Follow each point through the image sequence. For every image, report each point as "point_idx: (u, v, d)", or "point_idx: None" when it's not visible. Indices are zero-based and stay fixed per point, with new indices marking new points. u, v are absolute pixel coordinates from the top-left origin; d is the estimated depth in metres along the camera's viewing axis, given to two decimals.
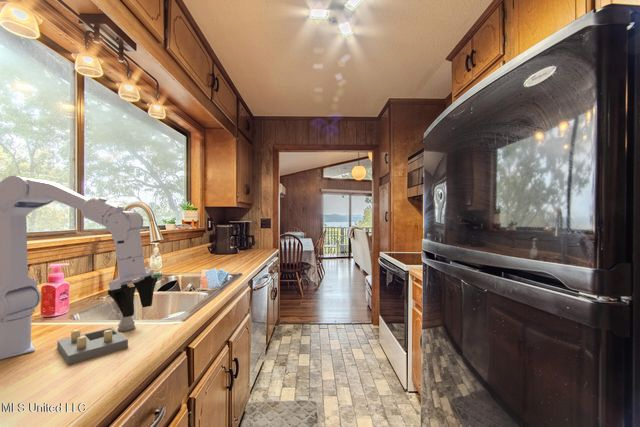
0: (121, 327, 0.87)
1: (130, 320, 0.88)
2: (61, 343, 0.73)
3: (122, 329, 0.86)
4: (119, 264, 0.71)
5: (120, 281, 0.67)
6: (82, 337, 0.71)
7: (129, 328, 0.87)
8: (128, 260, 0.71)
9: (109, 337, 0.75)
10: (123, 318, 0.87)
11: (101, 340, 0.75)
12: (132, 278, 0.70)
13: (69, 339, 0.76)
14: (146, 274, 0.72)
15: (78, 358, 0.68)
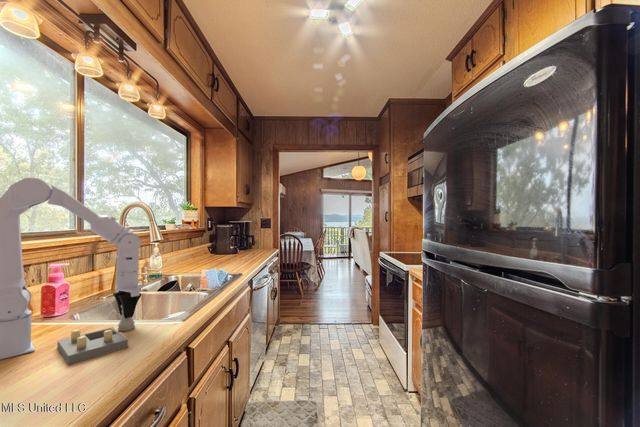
0: (121, 327, 0.87)
1: (130, 320, 0.88)
2: (61, 343, 0.73)
3: (122, 329, 0.86)
4: (125, 276, 0.86)
5: None
6: (82, 337, 0.71)
7: (129, 328, 0.87)
8: (134, 273, 0.88)
9: (109, 337, 0.75)
10: (123, 318, 0.87)
11: (101, 340, 0.75)
12: (138, 287, 0.88)
13: (69, 339, 0.76)
14: None
15: (78, 358, 0.68)
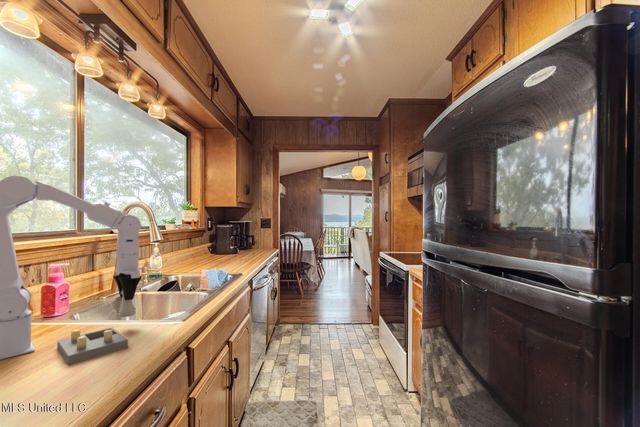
0: (122, 313, 0.87)
1: (131, 306, 0.88)
2: (61, 343, 0.73)
3: (123, 315, 0.87)
4: (126, 258, 0.86)
5: None
6: (82, 337, 0.71)
7: (130, 314, 0.88)
8: (135, 256, 0.88)
9: (109, 337, 0.75)
10: (124, 304, 0.87)
11: (101, 340, 0.75)
12: (138, 270, 0.88)
13: (69, 339, 0.76)
14: (142, 268, 0.91)
15: (78, 358, 0.68)
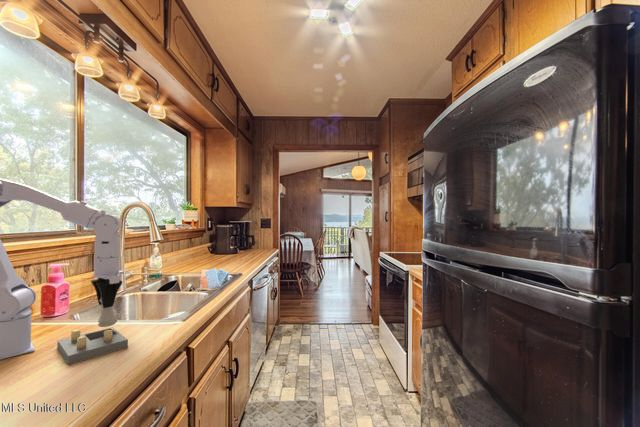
0: (102, 322, 0.79)
1: (111, 314, 0.81)
2: (61, 343, 0.73)
3: (103, 325, 0.79)
4: (104, 262, 0.79)
5: (118, 276, 0.78)
6: (82, 337, 0.71)
7: (111, 323, 0.80)
8: (114, 259, 0.80)
9: (109, 337, 0.75)
10: (103, 313, 0.80)
11: (101, 340, 0.75)
12: (119, 274, 0.80)
13: (69, 339, 0.76)
14: (123, 272, 0.84)
15: (78, 358, 0.68)
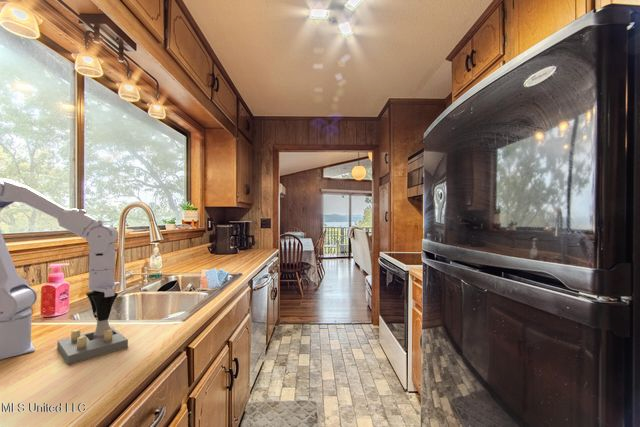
0: (97, 336, 0.78)
1: (107, 328, 0.79)
2: (61, 343, 0.73)
3: (98, 338, 0.78)
4: (99, 274, 0.77)
5: (113, 289, 0.76)
6: (82, 337, 0.71)
7: None
8: (110, 271, 0.79)
9: (109, 337, 0.75)
10: (99, 326, 0.78)
11: (101, 340, 0.75)
12: (114, 287, 0.79)
13: (69, 339, 0.76)
14: (119, 284, 0.82)
15: (78, 358, 0.68)
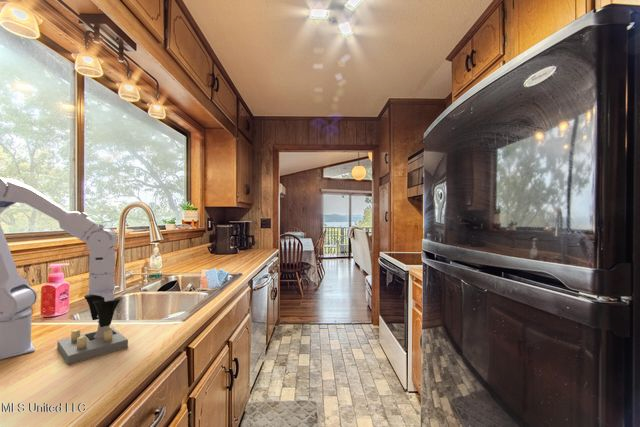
0: None
1: None
2: (61, 343, 0.73)
3: None
4: (99, 278, 0.77)
5: (113, 293, 0.76)
6: (82, 337, 0.71)
7: None
8: (110, 275, 0.79)
9: (109, 337, 0.75)
10: (100, 329, 0.78)
11: (101, 340, 0.75)
12: (114, 291, 0.79)
13: (69, 339, 0.76)
14: (119, 287, 0.82)
15: (78, 358, 0.68)
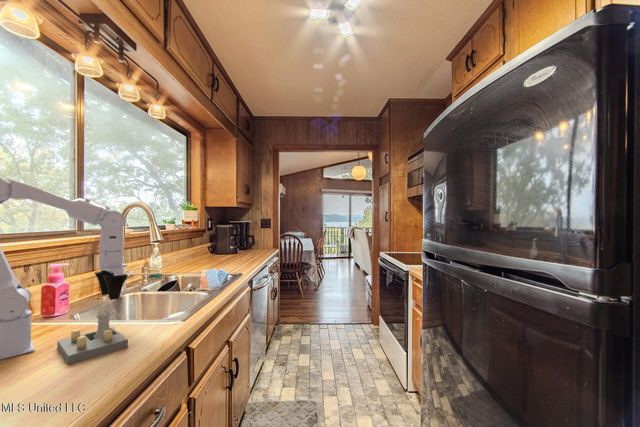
0: None
1: None
2: (61, 343, 0.73)
3: None
4: (109, 255, 0.84)
5: None
6: (82, 337, 0.71)
7: None
8: (118, 253, 0.86)
9: (109, 337, 0.75)
10: (100, 329, 0.78)
11: (101, 340, 0.75)
12: (122, 267, 0.86)
13: (69, 339, 0.76)
14: (126, 265, 0.89)
15: (78, 358, 0.68)
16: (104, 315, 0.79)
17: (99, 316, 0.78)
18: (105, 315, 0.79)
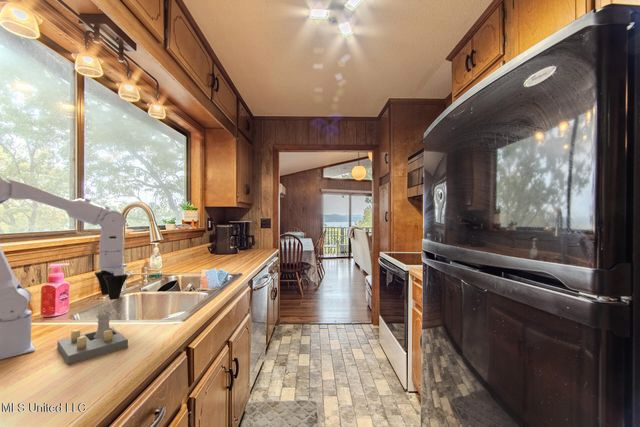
0: None
1: None
2: (61, 343, 0.73)
3: None
4: (109, 255, 0.84)
5: None
6: (82, 337, 0.71)
7: None
8: (118, 253, 0.86)
9: (109, 337, 0.75)
10: (100, 329, 0.78)
11: (101, 340, 0.75)
12: (122, 267, 0.86)
13: (69, 339, 0.76)
14: (126, 265, 0.89)
15: (78, 358, 0.68)
16: (104, 315, 0.79)
17: (99, 316, 0.78)
18: (105, 315, 0.79)
